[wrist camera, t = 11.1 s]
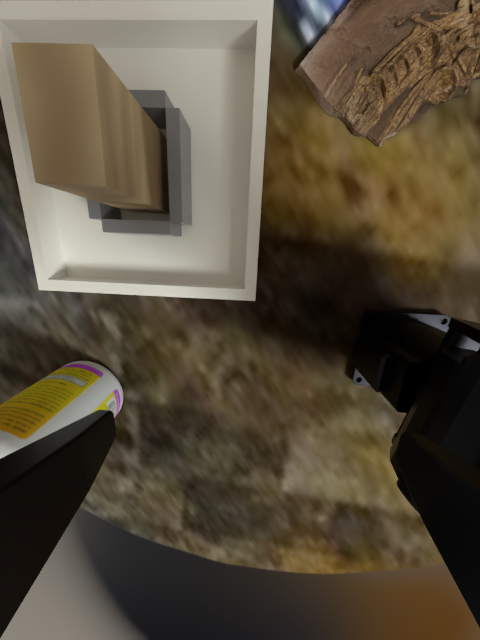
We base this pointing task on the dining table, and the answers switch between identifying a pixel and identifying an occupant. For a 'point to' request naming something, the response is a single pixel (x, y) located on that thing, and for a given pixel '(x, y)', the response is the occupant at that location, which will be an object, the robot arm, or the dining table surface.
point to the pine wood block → (89, 129)
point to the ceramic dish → (182, 145)
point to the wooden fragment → (393, 62)
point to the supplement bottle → (57, 403)
